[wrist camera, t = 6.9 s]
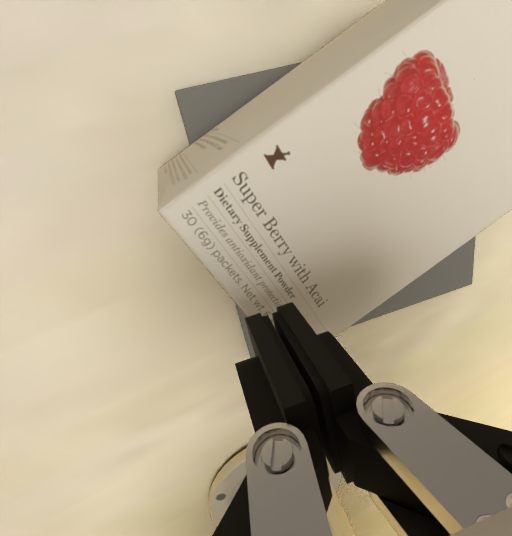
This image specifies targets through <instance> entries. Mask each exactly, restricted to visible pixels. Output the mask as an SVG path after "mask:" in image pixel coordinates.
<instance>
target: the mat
mask: <svg viewBox="0 0 512 536" xmlns="http://www.w3.org/2000/svg"><path fill="white" fill-rule="evenodd" d="M300 64H301V63H297V64H293V65H288V66H284V67H279V68H275V69H270V70H266V71H261V72H257V73H252V74H248V75H243V76H239V77H234V78H230V79H225V80H221V81H216V82H212V83H207V84H203V85H198V86H194V87H190V88H185V89H181V90H176V91H175V94H176V98H177V101H178V105H179V108H180V112H181V115H182V119H183V122H184V126H185V129H186V133H187V136H188V140H189V143H190V145H192V144H193V143H194V142H196V141H197V140H198V139H200V138H201V137H202V136H204V135H205V134H206V133H208V132H209V131H210V130H212V129H213V128H215V127H216V126H217V125H219V124H220V123H221V122H223V121H224V120H225V119H227V118H228V117H229V116H231V115H232V114H233V113H235V112H236V111H237V110H239V109H240V108H241V107H243V106H244V105H246V104H247V103H248V102H250V101H251V100H252V99H254V98H255V97H256V96H258V95H259V94H260V93H262V92H263V91H264V90H266V89H267V88H268V87H270V86H271V85H273V84H274V83H275V82H277V81H278V80H279V79H281V78H282V77H283V76H285V75H286V74H287V73H289V72H290V71H291V70H293V69H294V68H295V67H297V66H298V65H300ZM474 248H475V236H474V237H473V238H472V239H470V240H469V241H468V242H466V243H465V244H463V245H462V246H461V247H459V248H458V249H456V250H455V251H454V252H452V253H451V254H450V255H448V256H447V257H445V258H444V259H443V260H441V261H440V262H438V263H437V264H436V265H434V266H433V267H432V268H430V269H429V270H427V271H426V272H425V273H423V274H422V275H421V276H419V277H418V278H416V279H415V280H414V281H412V282H411V283H409V284H408V285H407V286H405V287H404V288H403V289H401V290H400V291H398V292H397V293H396V294H394V295H393V296H391V297H390V298H389V299H387V300H386V301H385V302H383V303H382V304H380V305H379V306H378V307H376V308H375V309H373V310H372V311H370V312H369V313H368V314H366V315H365V316H364V317H362V318H361V319H359V320H358V321H357V322H355V323H354V324H353V325H356V324H359V323H362V322H364V321H367V320H370V319H373V318H376V317H379V316H382V315H384V314H387V313H390V312H393V311H396V310H399V309H402V308H404V307H407V306H410V305H413V304H416V303H419V302H422V301H424V300H427V299H430V298H433V297H436V296H439V295H442V294H444V293H447V292H450V291H453V290H456V289H459V288H462V287H465V286H467V285H470V284H472V276H473V262H474ZM235 304H236V302H235ZM236 308H237V311H238V315H239V318H240V322H241V325H242V329H243V332H244V336H245V339H246V343H247V346H248V350H249V353H250V356H251V358H253V357H255V353H254V350H253V346H252V343H251V339H250V336H249V332H248V329H247V325H246V322H245V318H246V317H248V316H247V315H246V314H245V313H244V312H243V310H242V309H241V308H240V307H239V306H238V305H237V304H236ZM353 325H351V326H353Z"/></svg>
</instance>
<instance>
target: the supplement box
mask: <svg viewBox="0 0 512 536" xmlns="http://www.w3.org/2000/svg"><path fill="white" fill-rule="evenodd" d="M511 210H512V0H386V1H384V2H383V3H381V4H380V5H378V6H377V7H376V8H374V9H373V10H372V11H371V12H369V13H368V14H367V15H365V16H364V17H363V18H361V19H360V20H359V21H357V22H356V23H355V24H353V25H352V26H351V27H349V28H348V29H347V30H345V31H344V32H343V33H341V34H340V35H339V36H337V37H336V38H335V39H333V40H332V41H330V42H329V43H328V44H326V45H325V46H324V47H322V48H321V49H320V50H318V51H317V52H316V53H314V54H313V55H312V56H310V57H309V58H308V59H306V60H305V61H304V62H302V63H301V64H300V65H298V66H297V67H295V68H294V69H293V70H291V71H290V72H289V73H287V74H286V75H285V76H283V77H282V78H281V79H279V80H278V81H277V82H275V83H274V84H273V85H271V86H270V87H268V88H267V89H266V90H264V91H263V92H262V93H260V94H259V95H258V96H256V97H255V98H254V99H252V100H251V101H250V102H248V103H247V104H246V105H244V106H243V107H241V108H240V109H239V110H237V111H236V112H235V113H233V114H232V115H231V116H229V117H228V118H227V119H225V120H224V121H223V122H221V123H220V124H219V125H217V126H216V127H215V128H213V129H212V130H210V131H209V132H208V133H206V134H205V135H204V136H202V137H201V138H200V139H198V140H197V141H196V142H194V143H193V144H192V145H190V146H189V147H187V148H186V149H185V150H183V151H182V152H181V153H179V154H178V155H177V156H175V157H174V158H173V159H171V160H170V161H169V162H167V163H166V164H164V165H163V166H162V167H160V168H159V169H158V212H159V214H160V215H161V216H162V217H163V218H164V219H165V220H166V222H167V223H168V224H169V225H170V226H171V227H172V229H173V230H174V231H175V232H176V233H177V234H178V235H179V237H180V238H181V239H182V240H183V241H184V242H185V244H186V245H187V246H188V247H189V248H190V249H191V251H192V252H193V253H194V254H195V255H196V257H197V258H198V259H199V260H200V261H201V262H202V264H203V265H204V266H205V267H206V268H207V270H208V271H209V272H210V273H211V274H212V276H213V277H214V278H215V279H216V280H217V281H218V282H219V284H220V285H221V286H222V287H223V288H224V289H225V291H226V292H227V293H228V294H229V295H230V296H231V298H232V299H233V300H234V301H235V302H236V304H237V305H238V306H239V307H240V308H241V309H242V310H243V312H244V313H245V314H246V315H247V316H248V317H249V316H252V315H255V314H258V313H261V315H262V316H265V315H268V316H269V318H270V320H271V322H272V323H273V325H274V321H273V317H272V313H274V312H277V309H276V308H277V307H278V306H281V305H284V304H287V303H290V302H293V303H294V305H295V306H296V307H297V309H298V310H299V311H300V313H301V314H302V315H303V317H304V318H305V319H306V321H307V322H308V323H309V325H310V326H311V327H312V329H313V330H314V331H315V333H316V334H317V335H318V334H320V333H323V332H326V331H329V332H330V333H331V334H332V335H333V336H334V337H336V336H337V335H339V334H340V333H342V332H343V331H344V330H346V329H347V328H348V327H350V326H351V325H353V324H354V323H355V322H357V321H358V320H359V319H361V318H362V317H364V316H365V315H366V314H368V313H369V312H370V311H372V310H373V309H375V308H376V307H378V306H379V305H380V304H382V303H383V302H385V301H386V300H387V299H389V298H390V297H391V296H393V295H394V294H396V293H397V292H398V291H400V290H401V289H403V288H404V287H405V286H407V285H408V284H409V283H411V282H412V281H414V280H415V279H416V278H418V277H419V276H421V275H422V274H423V273H425V272H426V271H427V270H429V269H430V268H432V267H433V266H434V265H436V264H437V263H438V262H440V261H441V260H443V259H444V258H445V257H447V256H448V255H450V254H451V253H452V252H454V251H455V250H456V249H458V248H459V247H461V246H462V245H463V244H465V243H466V242H468V241H469V240H470V239H472V238H473V237H474V236H476V235H477V234H479V233H480V232H482V231H483V230H484V229H486V228H487V227H488V226H490V225H491V224H492V223H494V222H495V221H497V220H498V219H499V218H501V217H502V216H503V215H505V214H506V213H508V212H509V211H511ZM274 327H275V325H274Z"/></svg>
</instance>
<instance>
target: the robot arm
mask: <svg viewBox="0 0 512 536" xmlns="http://www.w3.org/2000/svg"><path fill="white" fill-rule="evenodd" d="M276 309H277V312H274V313H272V317H273V321H274V325H275V327H274V325H273V323H272V322H271V320H270V318H269V316H268V315H265V316H262V315H261V313H258V314H255V315H252V316H249V317H246V318H245V322H246V325H247V329H248V332H249V336H250V339H251V343H252V346H253V350H254V353H255V357H253V358H250V359H247V360H244V361H242V362H239V363H236V364H235V365H236V369H237V372H238V376H239V379H240V383H241V386H242V389H243V393H244V396H245V400H246V403H247V406H248V410H249V413H250V417H251V420H252V424H253V427H254V430H255V434H254V435H253V436H252V438H251V439H250V440H249V443H248V445H247V448H245V449H244V450H243V451H241V452H240V453H238V454H237V455H235V456H234V457H233V458H232V459H231V460H230V461H229V462H228V463H226V464H225V465H224V467H223V468H222V469H221V470H220V472H219V473H218V474H217V476H216V478H215V480H214V481H213V483H212V486H211V489H210V493H209V508H210V515H211V518H212V521H213V523H214V525H215V526H216V527H217V528H216V530H215V532H214V534H213V535H212V536H356V534H355V532H354V530H353V528H352V526H351V524H350V522H349V519H348V517H347V515H346V513H345V511H344V509H343V507H342V505H341V502H340V500H339V498H338V496H337V494H336V492H337V490H338V488H339V486H340V482H341V477H342V475H343V477H344V479H345V481H346V483H347V484H348V483H350V482H354V484H355V486H357V487H360V488H362V489H364V490H367V491H368V493H369V495H370V496H371V498H372V500H373V502H374V503H375V504H376V506H377V507H378V508H379V510H380V511H381V513H382V514H383V515H384V517H385V518H386V519H387V521H388V522H389V523H390V525H391V526H392V527H393V529H394V530H395V532H396V533H397V534H398V536H512V431H508V430H504V429H500V428H496V427H492V426H488V425H484V424H480V423H476V422H472V421H468V420H464V419H460V418H456V417H452V416H448V415H444V414H440V413H436V412H435V411H434V410H433V409H431V408H430V407H429V406H428V405H426V404H425V403H424V402H423V401H421V400H420V399H419V398H418V397H417V396H415V395H414V394H413V393H412V392H410V391H409V390H407V389H406V388H404V387H402V386H399V385H396V384H393V383H375V384H373V383H372V382H371V381H370V380H369V379H368V377H367V376H366V375H365V374H364V373H363V371H362V370H361V369H360V368H359V366H358V365H357V364H356V363H355V362H354V360H353V359H352V358H351V357H350V356H349V354H348V353H347V352H346V351H345V349H344V348H343V347H342V346H341V345H340V343H339V342H338V341H337V340H336V339H335V337H334V336H333V335H332V334H331V333H330V332H329V331H326V332H323V333H320V334H318V335H317V334H316V333H315V331H314V330H313V329H312V327H311V326H310V325H309V323H308V322H307V321H306V319H305V318H304V317H303V315H302V314H301V313H300V311H299V310H298V309H297V307H296V306H295V305H294V303H293V302H290V303H287V304H284V305H281V306H278V307H277V308H276Z"/></svg>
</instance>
